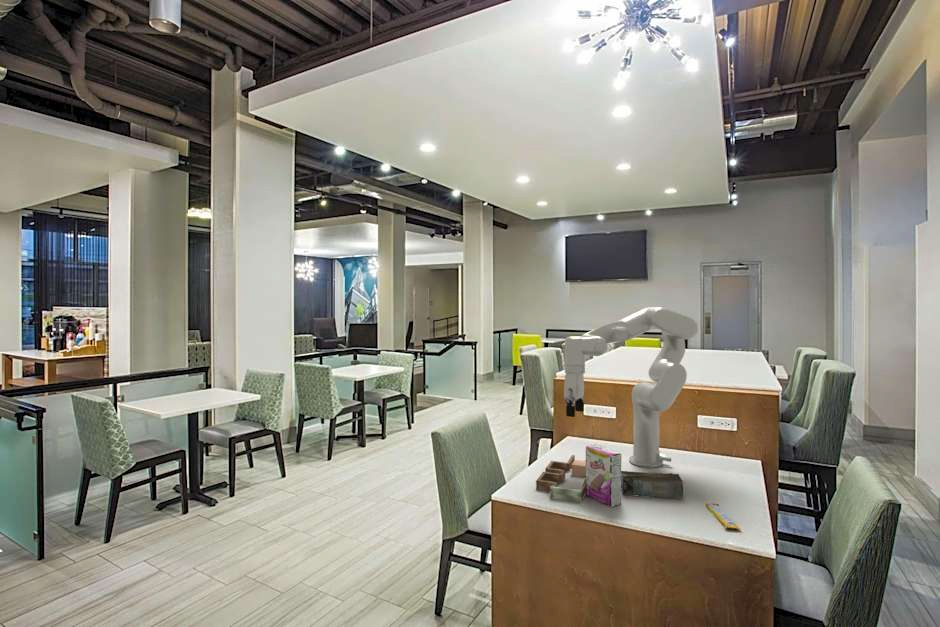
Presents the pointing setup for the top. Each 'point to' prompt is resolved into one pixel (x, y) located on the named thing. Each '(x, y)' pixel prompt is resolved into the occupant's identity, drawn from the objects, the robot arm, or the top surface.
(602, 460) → the candy bar box
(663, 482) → the dark brown long block
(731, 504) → the top surface
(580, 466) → the block
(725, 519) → the candy bar
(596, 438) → the top surface
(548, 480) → the trap lane
